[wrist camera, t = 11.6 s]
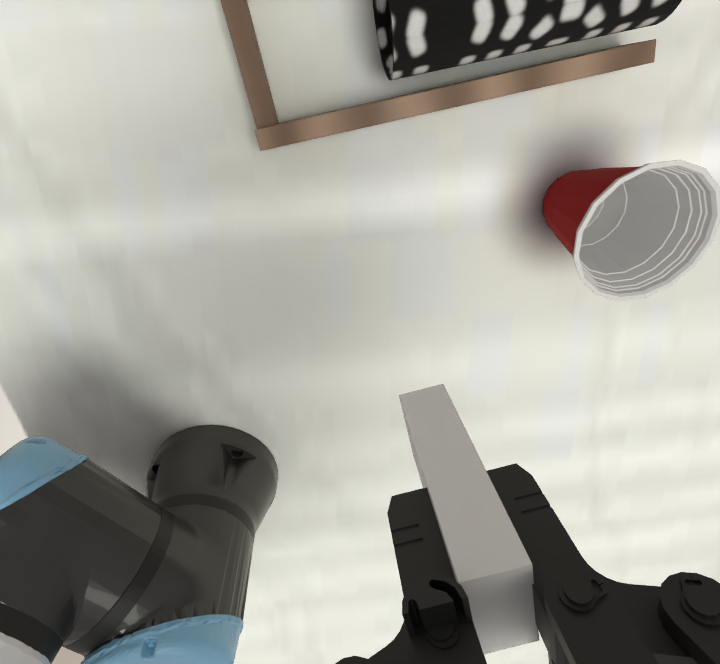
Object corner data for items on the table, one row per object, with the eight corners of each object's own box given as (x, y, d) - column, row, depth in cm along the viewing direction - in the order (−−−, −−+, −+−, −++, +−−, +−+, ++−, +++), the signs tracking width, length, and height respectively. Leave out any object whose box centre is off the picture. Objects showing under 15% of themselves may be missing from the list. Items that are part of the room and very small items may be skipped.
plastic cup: (503, 254, 45) (559, 301, 35) (531, 139, 40) (606, 152, 30) (603, 260, 46) (687, 308, 36) (642, 149, 42) (752, 166, 31)
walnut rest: (266, 145, 39) (260, 150, 35) (210, -59, 32) (194, -81, 28) (619, 66, 38) (654, 61, 34) (633, -160, 32) (678, -197, 28)
